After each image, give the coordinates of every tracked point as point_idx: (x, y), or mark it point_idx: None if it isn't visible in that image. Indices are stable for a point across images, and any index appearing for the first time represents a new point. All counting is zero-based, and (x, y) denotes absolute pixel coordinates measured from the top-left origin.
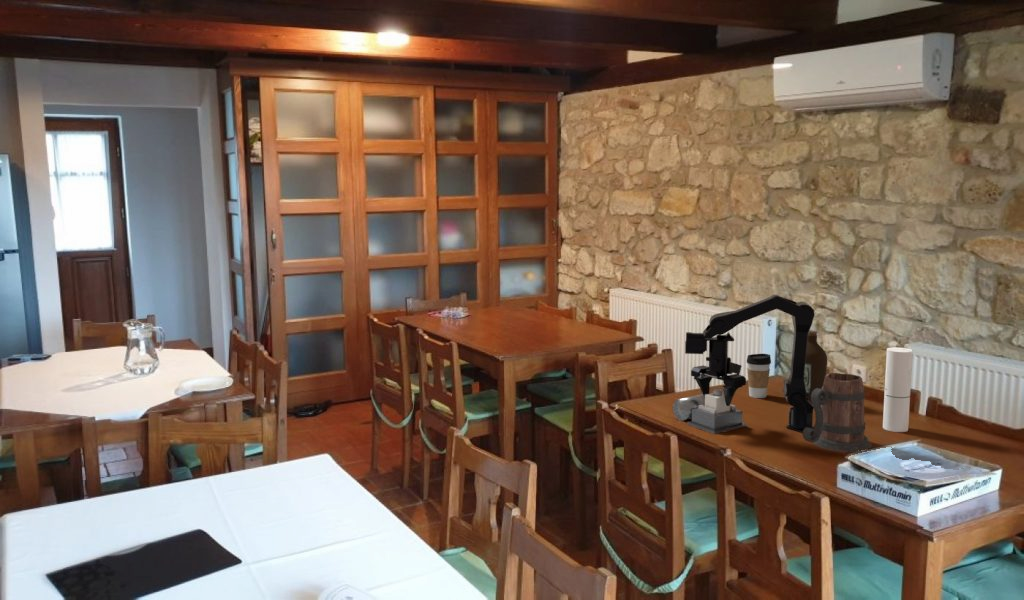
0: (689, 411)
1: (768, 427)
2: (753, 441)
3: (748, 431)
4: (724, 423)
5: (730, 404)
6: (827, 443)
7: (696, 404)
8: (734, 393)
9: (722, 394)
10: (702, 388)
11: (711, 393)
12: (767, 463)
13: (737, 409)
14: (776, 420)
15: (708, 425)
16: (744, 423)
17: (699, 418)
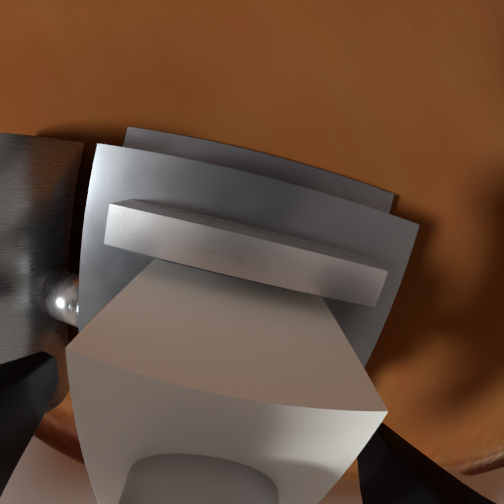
0: (61, 388)
1: (469, 137)
2: (464, 374)
3: (426, 276)
4: None
5: (312, 264)
6: None
7: (25, 342)
8: (485, 500)
9: (274, 491)
10: (3, 490)
11: (96, 473)
12: (490, 449)
13: (366, 214)
14: (427, 3)
15: None
16: (379, 196)
17: None
